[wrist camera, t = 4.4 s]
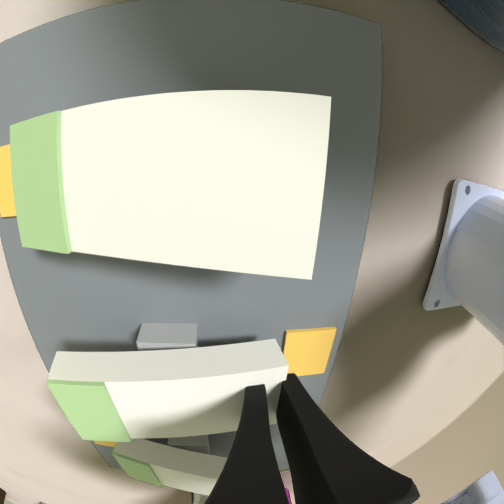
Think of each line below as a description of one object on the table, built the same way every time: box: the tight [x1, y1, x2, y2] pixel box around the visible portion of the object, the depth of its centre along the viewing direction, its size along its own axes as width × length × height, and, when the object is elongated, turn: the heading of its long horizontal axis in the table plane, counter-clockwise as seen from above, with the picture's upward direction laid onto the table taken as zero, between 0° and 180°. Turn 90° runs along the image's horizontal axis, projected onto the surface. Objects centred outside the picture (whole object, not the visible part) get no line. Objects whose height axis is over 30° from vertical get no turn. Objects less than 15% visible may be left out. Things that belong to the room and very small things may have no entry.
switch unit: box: [0, 0, 382, 471], centre depth 13 cm, size 16×30×3 cm, turn 177°
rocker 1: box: [10, 90, 331, 280], centre depth 7 cm, size 9×4×2 cm, turn 87°
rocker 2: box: [46, 339, 289, 442], centre depth 10 cm, size 9×4×2 cm, turn 87°
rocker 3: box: [112, 438, 227, 496], centre depth 13 cm, size 9×4×2 cm, turn 87°
